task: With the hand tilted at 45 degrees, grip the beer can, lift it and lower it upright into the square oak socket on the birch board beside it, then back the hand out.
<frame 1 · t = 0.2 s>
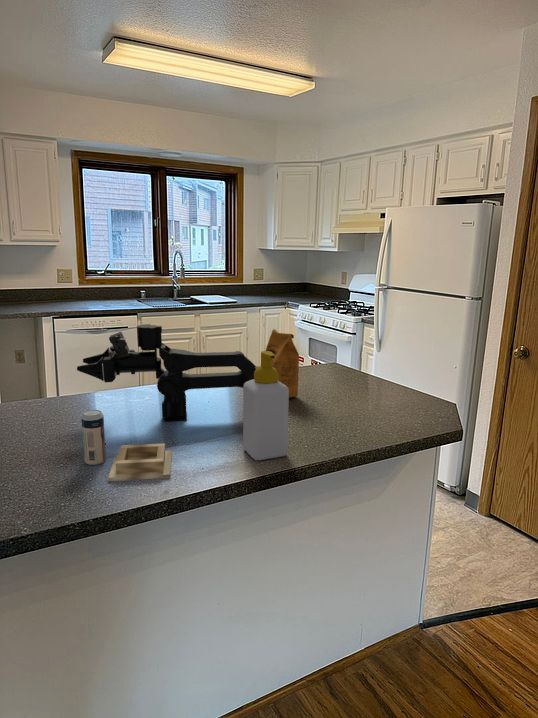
hand: (80, 364, 138), 17 cm above the countertop, tool horizontal, fingers open, 9 cm apart
socket board: (142, 466, 114), on the countertop
coffee package: (279, 396, 169), on the countertop
soap bottle: (264, 453, 123), on the countertop
beer can: (95, 462, 116), on the countertop
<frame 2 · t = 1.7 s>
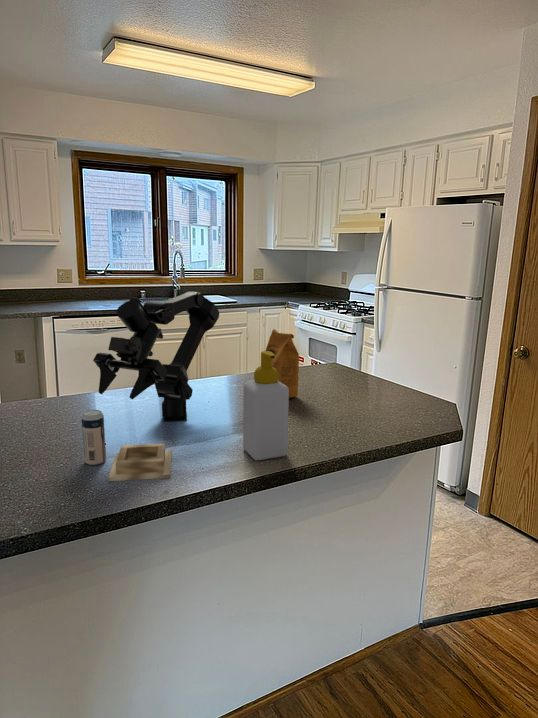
hand: (115, 395, 121), 14 cm above the countertop, tool tilted 45°, fingers open, 9 cm apart
nothing on the countertop moved.
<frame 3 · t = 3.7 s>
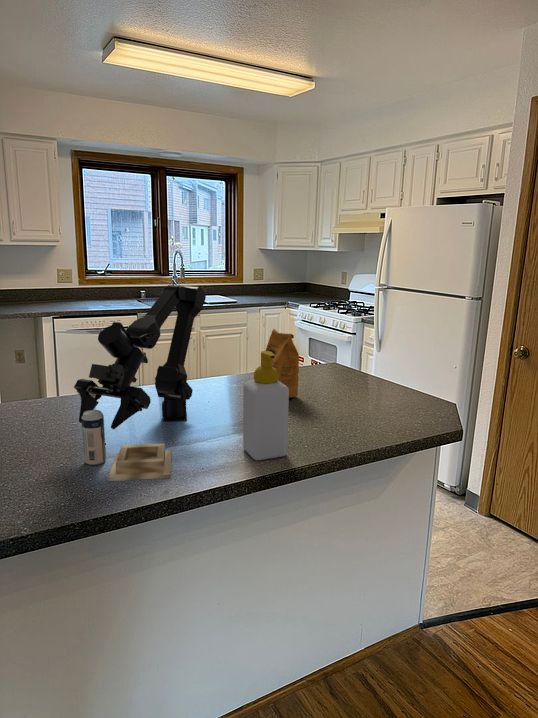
hand: (96, 425, 115), 9 cm above the countertop, tool tilted 45°, fingers open, 9 cm apart
nothing on the countertop moved.
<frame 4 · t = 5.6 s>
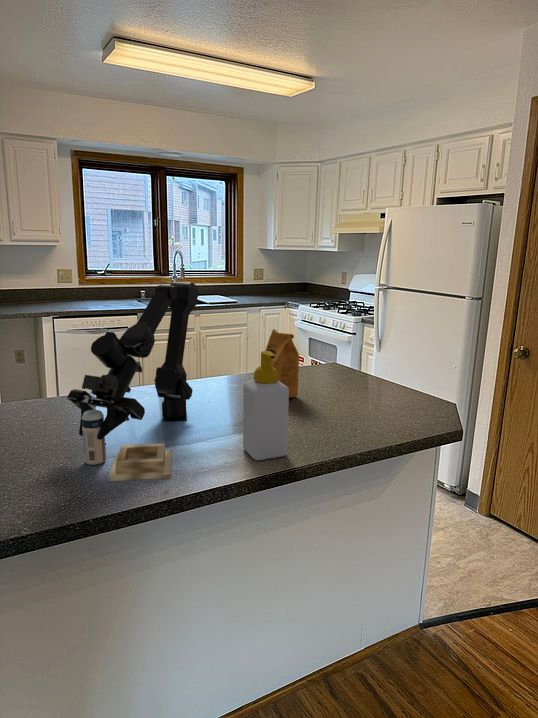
hand: (89, 437, 114), 7 cm above the countertop, tool tilted 45°, fingers closed on beer can, 5 cm apart
beer can: (95, 462, 116), on the countertop, touching gripper
everything else where it was.
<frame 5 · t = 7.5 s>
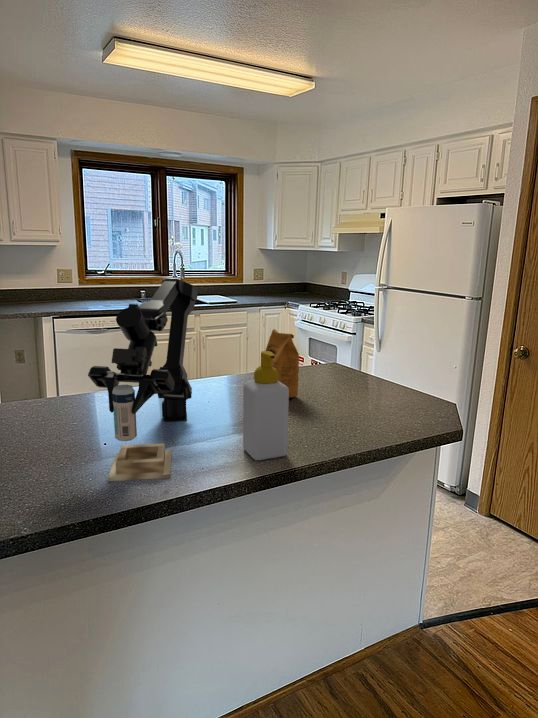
hand: (122, 412, 110), 13 cm above the countertop, tool tilted 45°, fingers closed on beer can, 5 cm apart
beer can: (126, 439, 113), point 6 cm above the countertop, touching gripper
everything else where it was.
when the fingers open (9 cm above the countertop, at t = 9.7 s): beer can drops 1 cm, resting on socket board.
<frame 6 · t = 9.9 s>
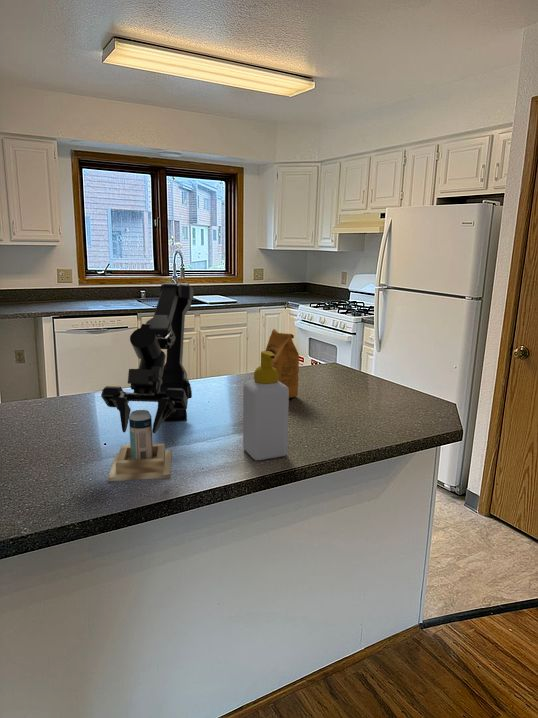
hand: (138, 432, 111), 9 cm above the countertop, tool tilted 45°, fingers open, 6 cm apart
beer can: (142, 463, 114), point 1 cm above the countertop, touching socket board
everything else where it was.
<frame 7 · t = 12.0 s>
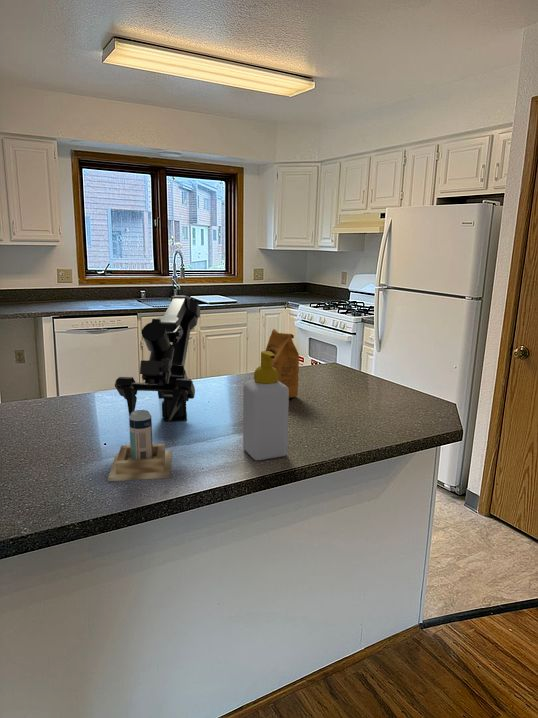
hand: (149, 419, 120), 9 cm above the countertop, tool tilted 45°, fingers open, 9 cm apart
nothing on the countertop moved.
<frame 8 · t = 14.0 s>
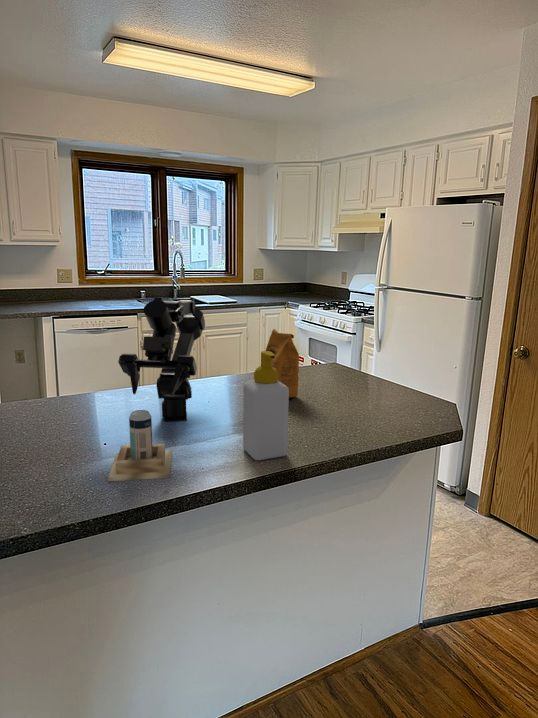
hand: (152, 394, 123), 14 cm above the countertop, tool tilted 45°, fingers open, 9 cm apart
nothing on the countertop moved.
at the end: beer can 0.2 cm off-centre on the socket board, point 0.6 cm above the socket board's base; beer can tilted 0°; the gripper is holding nothing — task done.
